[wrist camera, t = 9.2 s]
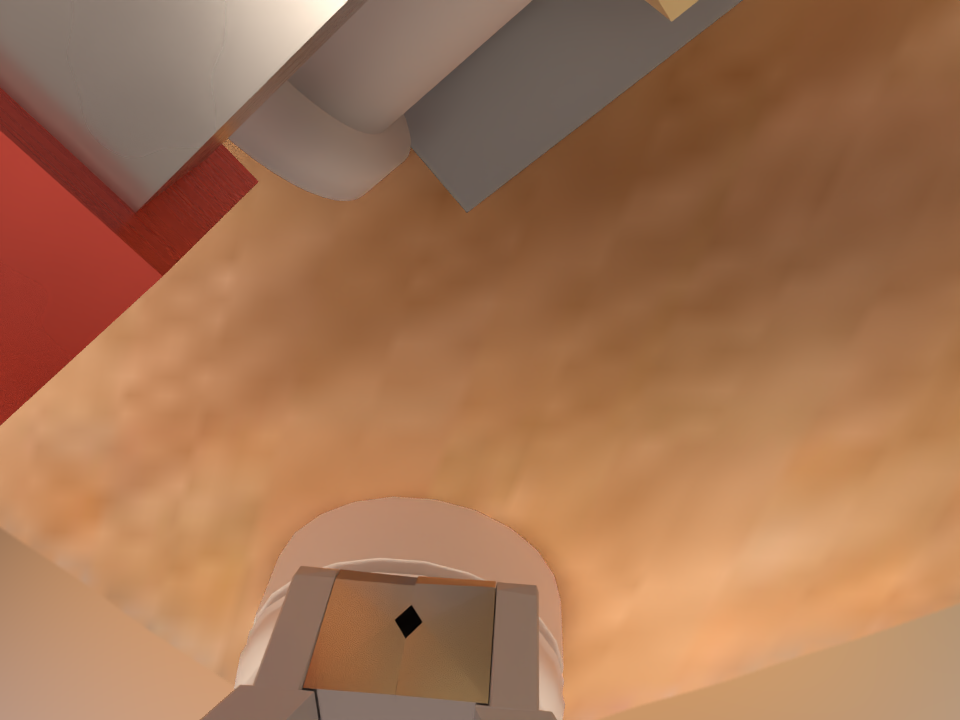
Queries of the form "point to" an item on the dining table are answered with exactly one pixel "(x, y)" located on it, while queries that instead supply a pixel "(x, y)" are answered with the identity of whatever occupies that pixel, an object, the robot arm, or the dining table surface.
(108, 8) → the lever
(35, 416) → the dining table surface
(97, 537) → the dining table surface
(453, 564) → the honey pot
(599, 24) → the valve
